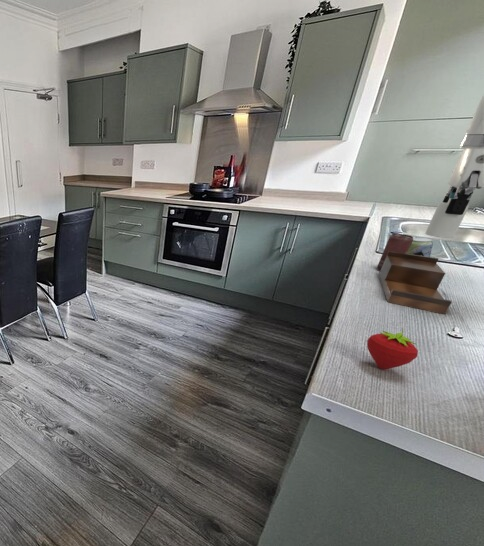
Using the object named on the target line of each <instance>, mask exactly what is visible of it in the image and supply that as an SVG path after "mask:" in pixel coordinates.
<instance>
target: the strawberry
mask: <svg viewBox="0 0 484 546" xmlns="http://www.w3.org/2000/svg"><path fill="white" fill-rule="evenodd" d="M366 343H367V351H368V352H369V354H370V356H371V358H372V360H373V361H374V362H375V364H376V367H378V368H379V369H381V370H385V371H386V370H390V369H394V368H399V367H402V366H405V365H408V364H410V363H411V362H412V361H414V360H416V358H417V357H418V354H419V351H418V348H417V347H416V346H415V345H416V342H413V341H412V339H411V338H409V337H406V336H404V327H401V332H396V333H395V334H394V333H392V332H388V331H385V330H382V332H380V333H376V334H372V335H370V336H369V337H368V339H367V340H366Z"/></svg>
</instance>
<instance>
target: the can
mask: <svg viewBox="0 0 484 546" xmlns="http://www.w3.org/2000/svg"><path fill="white" fill-rule="evenodd" d="M413 238H414V236H412V235H409V234H403V233H396V232H395V233H392V234H391V235H389V237H388V240H387V242H386V245H385V247H384V249H383V252H382V254H381V256H380V259H379V261H378V264H377V266H376V270H377V271H378V272H380V270H381V268H382V266H383V263H384V261H385V259H386V256H387V254H388V252H389V251H392V252H399V253H406V254H407V253H408V251H409V248H410V246H411V244H412V242H413Z"/></svg>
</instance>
